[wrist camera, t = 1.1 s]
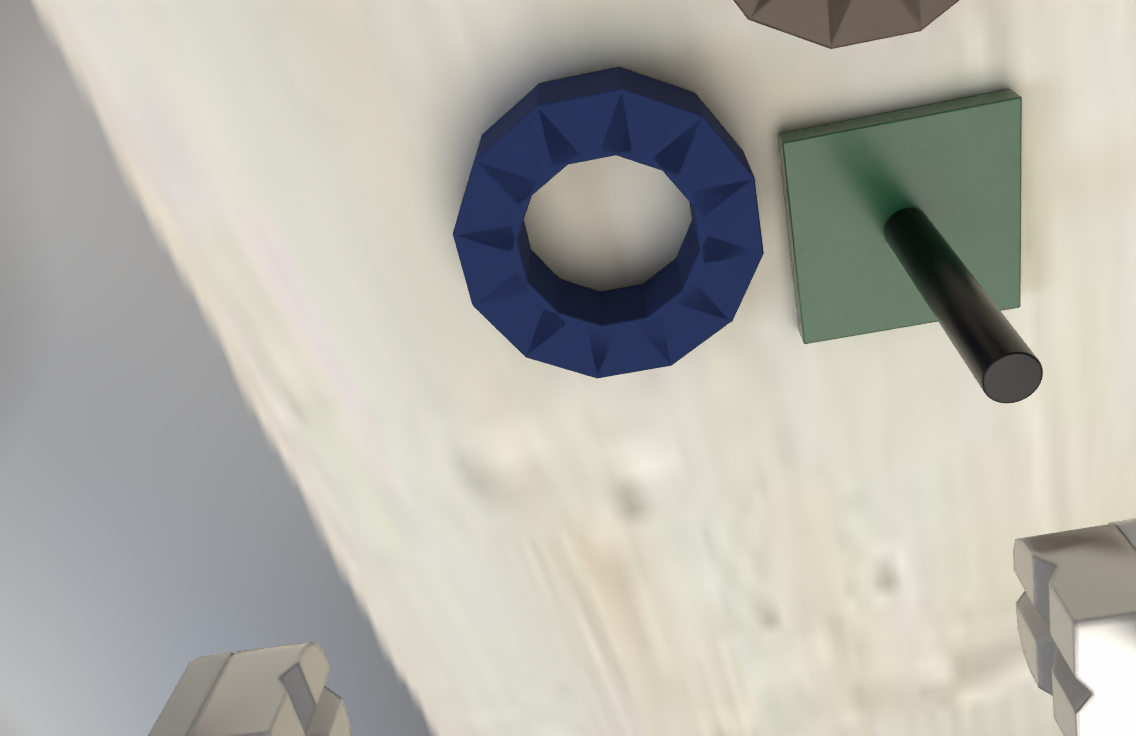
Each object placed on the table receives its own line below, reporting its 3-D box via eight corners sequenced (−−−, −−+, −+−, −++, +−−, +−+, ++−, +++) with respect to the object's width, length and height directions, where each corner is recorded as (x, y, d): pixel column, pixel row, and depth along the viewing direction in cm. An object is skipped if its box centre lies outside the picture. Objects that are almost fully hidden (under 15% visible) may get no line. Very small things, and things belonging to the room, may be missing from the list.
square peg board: (777, 133, 42) (851, 271, 30) (1010, 88, 41) (1180, 213, 29) (798, 331, 46) (871, 518, 34) (1010, 295, 45) (1158, 475, 33)
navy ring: (433, 104, 41) (423, 128, 38) (729, 43, 40) (740, 64, 37) (502, 358, 47) (497, 396, 44) (763, 313, 45) (775, 348, 43)
